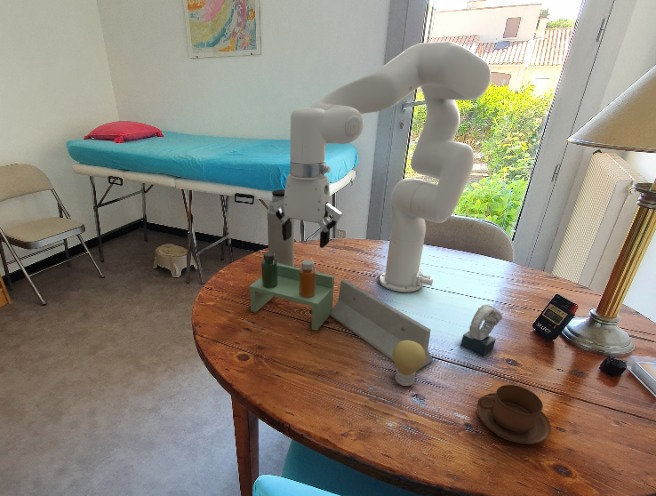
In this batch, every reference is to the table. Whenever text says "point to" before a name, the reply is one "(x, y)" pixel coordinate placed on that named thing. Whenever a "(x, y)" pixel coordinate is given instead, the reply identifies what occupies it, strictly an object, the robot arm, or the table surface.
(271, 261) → the green bottle
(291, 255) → the thermos bottle
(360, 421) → the table surface
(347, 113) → the robot arm
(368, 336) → the barrier
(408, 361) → the light bulb
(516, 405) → the cup and saucer
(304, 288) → the amber bottle
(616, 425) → the table surface
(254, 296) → the spice rack
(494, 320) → the watch
